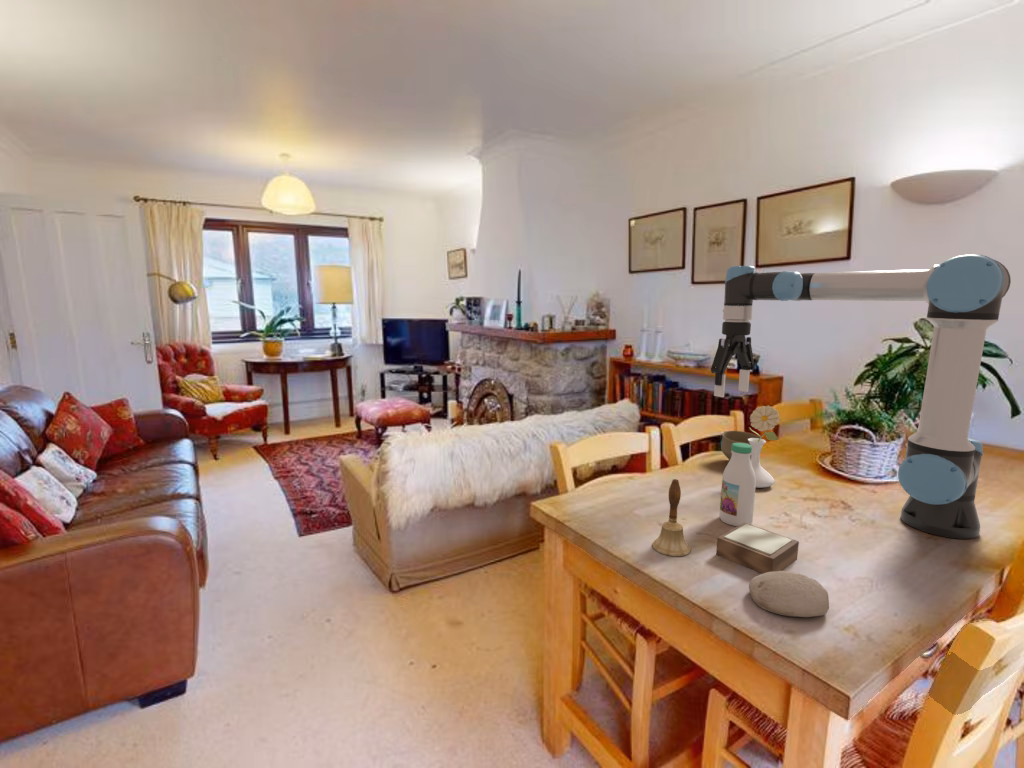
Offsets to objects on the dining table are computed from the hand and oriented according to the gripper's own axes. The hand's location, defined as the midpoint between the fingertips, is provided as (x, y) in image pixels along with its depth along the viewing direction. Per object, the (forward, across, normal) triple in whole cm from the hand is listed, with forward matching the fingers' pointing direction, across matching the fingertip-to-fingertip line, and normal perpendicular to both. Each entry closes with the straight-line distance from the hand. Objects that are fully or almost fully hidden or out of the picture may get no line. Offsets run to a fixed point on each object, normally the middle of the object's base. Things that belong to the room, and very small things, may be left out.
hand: (731, 393), depth 150 cm
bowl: (+28, -23, -7) cm, 37 cm away
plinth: (+28, +36, +28) cm, 53 cm away
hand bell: (+28, +47, +14) cm, 56 cm away
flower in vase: (+28, -7, +6) cm, 30 cm away
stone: (+28, +49, +40) cm, 69 cm away
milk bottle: (+28, +22, +15) cm, 39 cm away
